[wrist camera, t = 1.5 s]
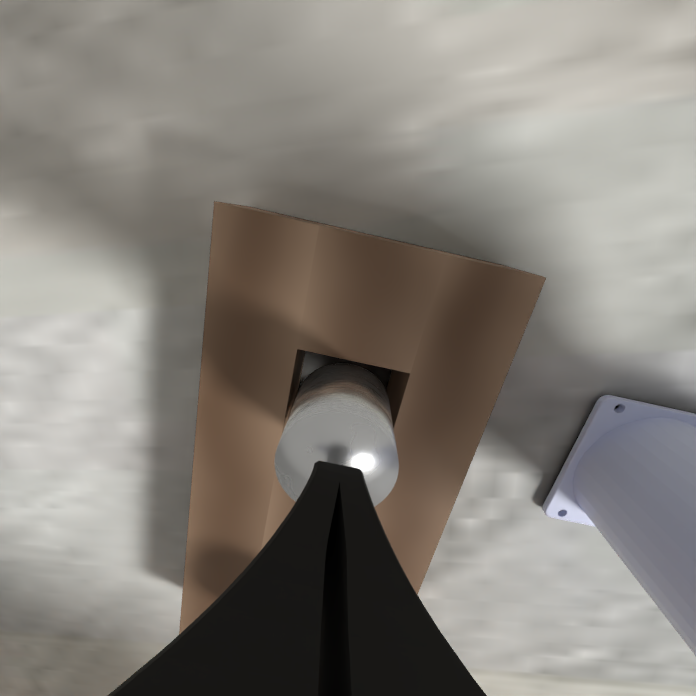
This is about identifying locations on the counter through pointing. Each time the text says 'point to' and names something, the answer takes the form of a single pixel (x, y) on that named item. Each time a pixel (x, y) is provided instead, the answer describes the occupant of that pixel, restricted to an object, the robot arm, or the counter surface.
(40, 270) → the counter surface
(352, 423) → the peg
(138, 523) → the counter surface
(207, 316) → the wooden peg board
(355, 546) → the robot arm
